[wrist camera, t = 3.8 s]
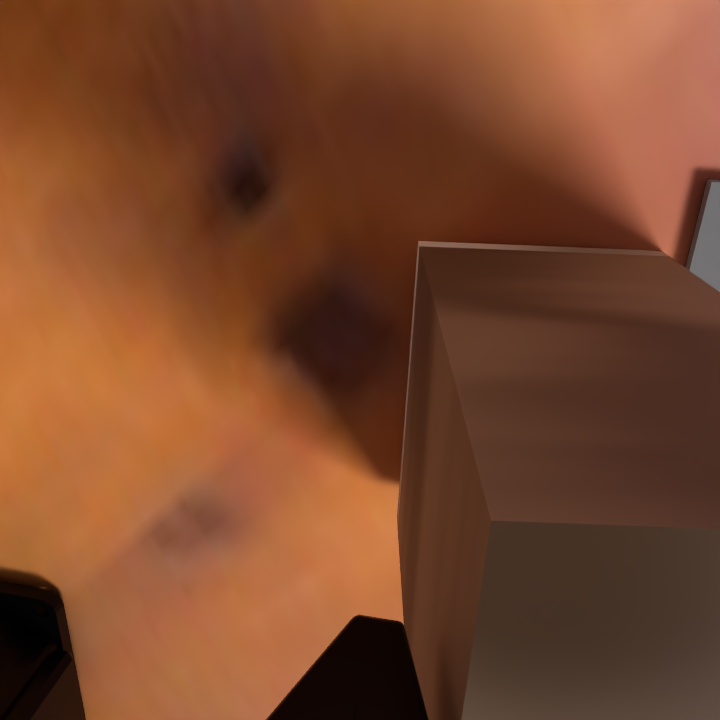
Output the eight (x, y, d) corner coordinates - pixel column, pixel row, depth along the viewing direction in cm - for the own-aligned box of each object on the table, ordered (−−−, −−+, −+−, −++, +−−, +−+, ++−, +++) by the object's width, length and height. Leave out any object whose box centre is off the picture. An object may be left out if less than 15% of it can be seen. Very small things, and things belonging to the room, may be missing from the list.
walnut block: (397, 517, 17) (425, 959, 9) (418, 241, 14) (490, 519, 6) (597, 524, 17) (812, 971, 9) (661, 250, 14) (1073, 541, 6)
